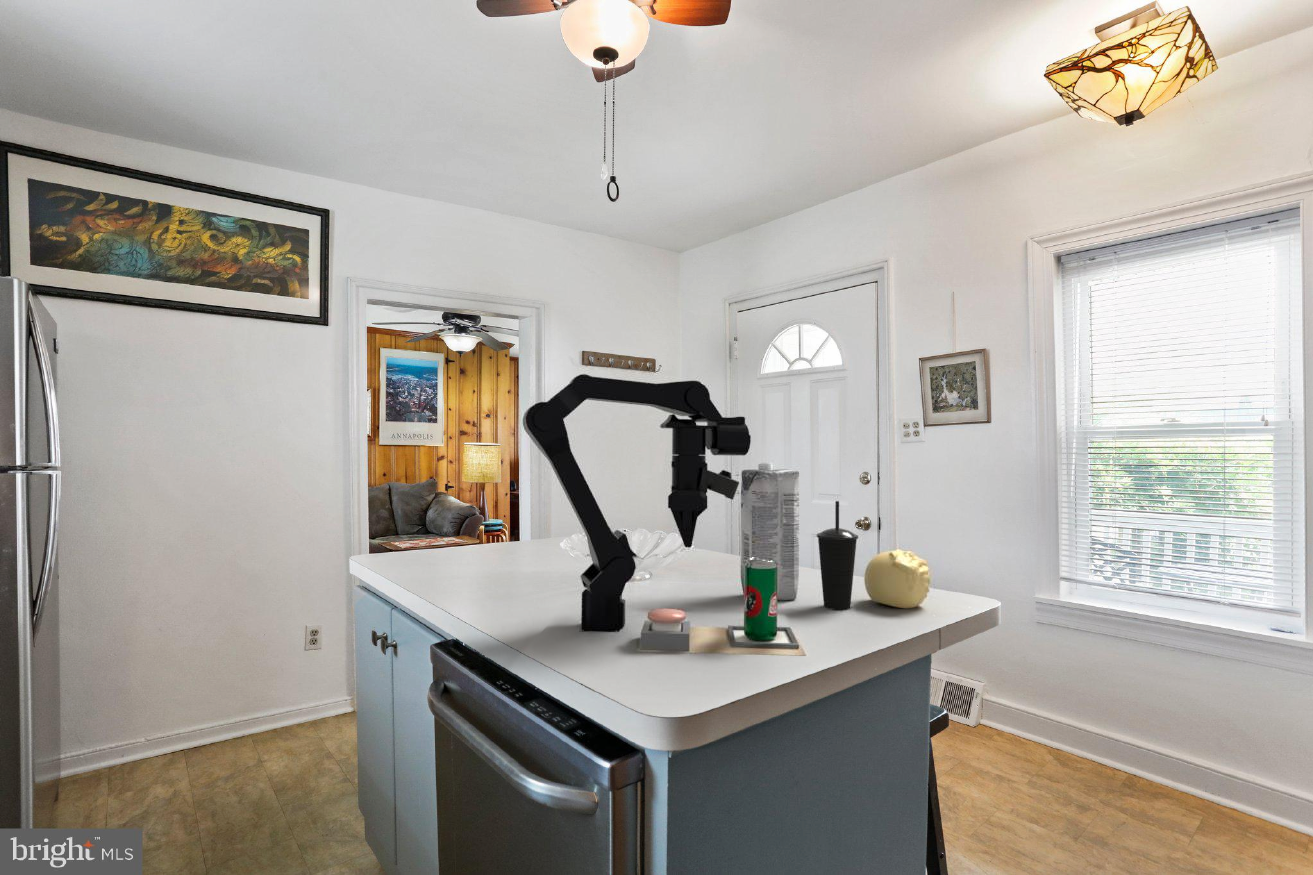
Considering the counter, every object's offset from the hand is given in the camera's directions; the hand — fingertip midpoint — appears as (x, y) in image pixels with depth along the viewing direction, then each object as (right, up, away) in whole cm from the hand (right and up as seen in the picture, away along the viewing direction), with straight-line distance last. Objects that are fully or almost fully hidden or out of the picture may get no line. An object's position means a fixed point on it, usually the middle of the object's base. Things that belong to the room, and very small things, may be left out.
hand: (688, 547), depth 113 cm
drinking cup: (+29, -14, +13) cm, 34 cm away
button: (-4, -12, -14) cm, 19 cm away
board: (+4, -13, -12) cm, 18 cm away
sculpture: (+41, -14, +15) cm, 46 cm away
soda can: (+11, -12, -11) cm, 20 cm away
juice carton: (+17, -14, +21) cm, 30 cm away
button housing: (-4, -12, -14) cm, 19 cm away
